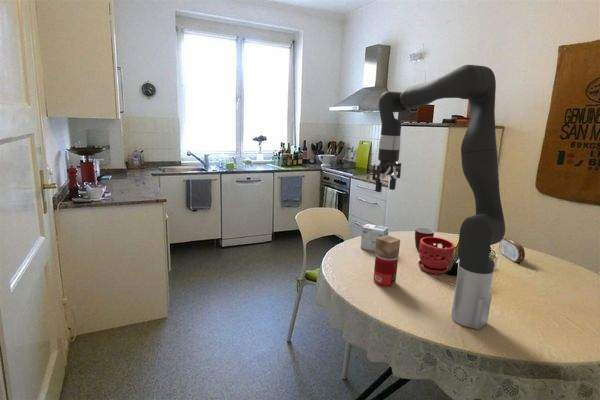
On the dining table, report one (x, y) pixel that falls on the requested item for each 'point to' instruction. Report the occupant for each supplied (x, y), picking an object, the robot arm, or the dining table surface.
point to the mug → (422, 235)
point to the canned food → (385, 271)
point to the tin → (512, 250)
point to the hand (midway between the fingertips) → (385, 190)
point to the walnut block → (387, 246)
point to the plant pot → (435, 254)
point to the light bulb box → (371, 236)
